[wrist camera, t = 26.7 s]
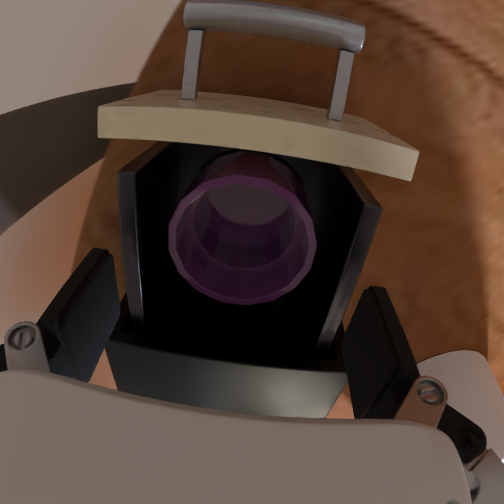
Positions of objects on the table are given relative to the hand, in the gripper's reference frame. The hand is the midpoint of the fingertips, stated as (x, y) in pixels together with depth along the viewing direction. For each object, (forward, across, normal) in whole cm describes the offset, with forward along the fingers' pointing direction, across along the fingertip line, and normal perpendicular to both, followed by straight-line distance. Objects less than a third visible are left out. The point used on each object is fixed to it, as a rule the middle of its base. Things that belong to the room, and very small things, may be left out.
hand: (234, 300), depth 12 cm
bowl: (+8, 0, 0) cm, 8 cm away
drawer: (+9, 0, -2) cm, 10 cm away
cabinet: (+10, 0, +12) cm, 15 cm away
